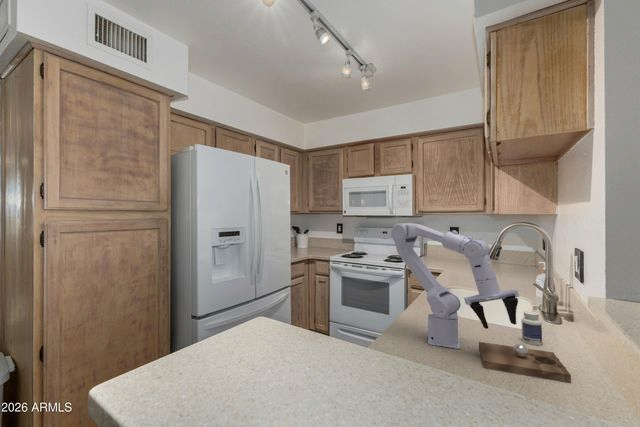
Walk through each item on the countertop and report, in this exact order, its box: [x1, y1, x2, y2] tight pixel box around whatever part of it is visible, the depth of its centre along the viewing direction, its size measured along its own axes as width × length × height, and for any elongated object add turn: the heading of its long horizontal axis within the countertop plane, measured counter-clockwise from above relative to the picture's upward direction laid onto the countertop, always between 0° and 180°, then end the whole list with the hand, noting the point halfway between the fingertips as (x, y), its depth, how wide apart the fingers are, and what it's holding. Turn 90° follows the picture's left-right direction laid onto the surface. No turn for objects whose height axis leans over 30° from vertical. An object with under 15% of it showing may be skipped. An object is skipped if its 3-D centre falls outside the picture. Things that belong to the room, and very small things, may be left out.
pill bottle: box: [521, 310, 543, 346], centre depth 94 cm, size 5×5×10 cm
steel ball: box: [513, 343, 529, 357], centre depth 80 cm, size 4×4×4 cm
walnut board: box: [478, 341, 572, 384], centre depth 80 cm, size 19×13×2 cm
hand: (499, 325), depth 83 cm, fingers open, 7 cm apart
